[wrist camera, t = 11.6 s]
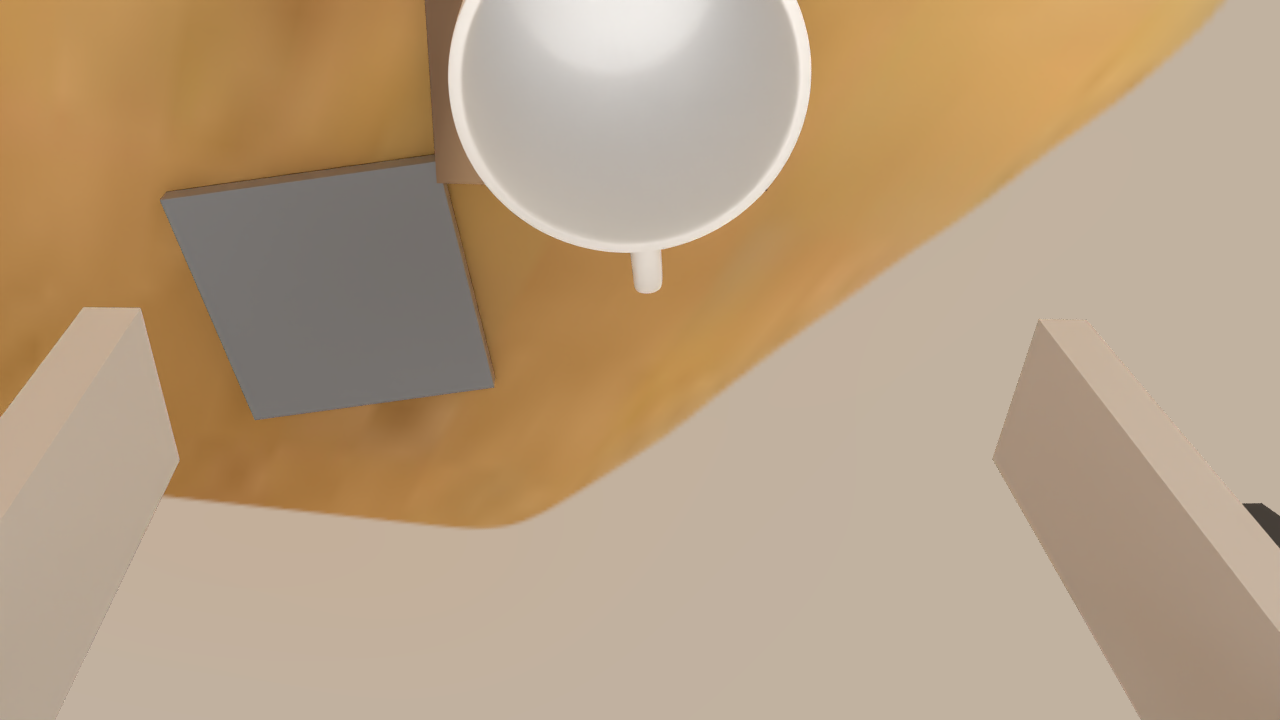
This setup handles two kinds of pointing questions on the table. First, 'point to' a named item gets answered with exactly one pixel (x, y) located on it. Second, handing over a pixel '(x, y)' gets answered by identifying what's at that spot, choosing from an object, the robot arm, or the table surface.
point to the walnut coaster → (445, 96)
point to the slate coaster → (336, 285)
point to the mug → (629, 114)
